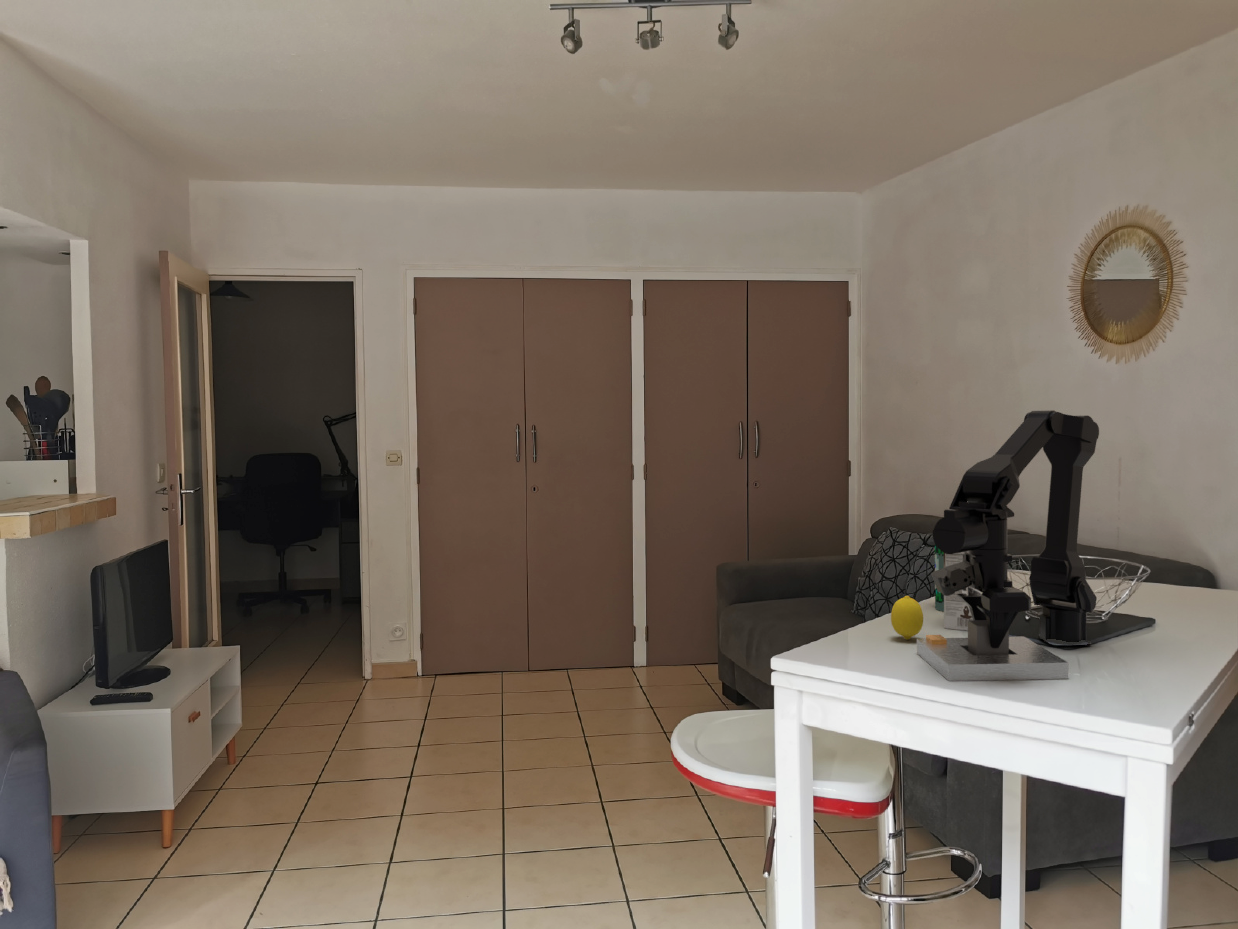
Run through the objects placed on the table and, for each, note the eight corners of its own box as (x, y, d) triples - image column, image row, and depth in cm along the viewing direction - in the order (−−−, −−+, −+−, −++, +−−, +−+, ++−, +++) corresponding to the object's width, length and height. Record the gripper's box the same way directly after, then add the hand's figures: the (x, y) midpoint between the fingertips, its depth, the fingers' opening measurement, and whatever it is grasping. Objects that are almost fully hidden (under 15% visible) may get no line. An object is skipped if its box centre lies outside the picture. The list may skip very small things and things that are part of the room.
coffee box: (953, 618, 178) (953, 537, 177) (988, 622, 175) (988, 539, 174) (943, 628, 171) (942, 543, 170) (979, 632, 167) (978, 545, 166)
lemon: (925, 644, 160) (925, 599, 159) (892, 643, 161) (892, 598, 161) (921, 636, 165) (921, 592, 165) (889, 635, 166) (889, 592, 166)
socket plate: (1023, 651, 154) (1023, 631, 154) (1068, 678, 138) (1068, 657, 138) (916, 653, 154) (916, 633, 154) (948, 681, 138) (948, 659, 138)
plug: (998, 662, 148) (999, 619, 148) (1008, 669, 144) (1008, 625, 144) (967, 662, 148) (967, 620, 148) (976, 669, 144) (976, 626, 144)
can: (941, 604, 191) (940, 533, 190) (971, 607, 187) (970, 535, 186) (932, 610, 186) (931, 537, 185) (962, 613, 182) (962, 539, 182)
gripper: (919, 540, 154) (920, 630, 155) (957, 557, 136) (957, 660, 137) (985, 538, 154) (985, 629, 155) (1032, 556, 135) (1032, 659, 136)
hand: (988, 643), depth 146 cm, fingers open, 5 cm apart
